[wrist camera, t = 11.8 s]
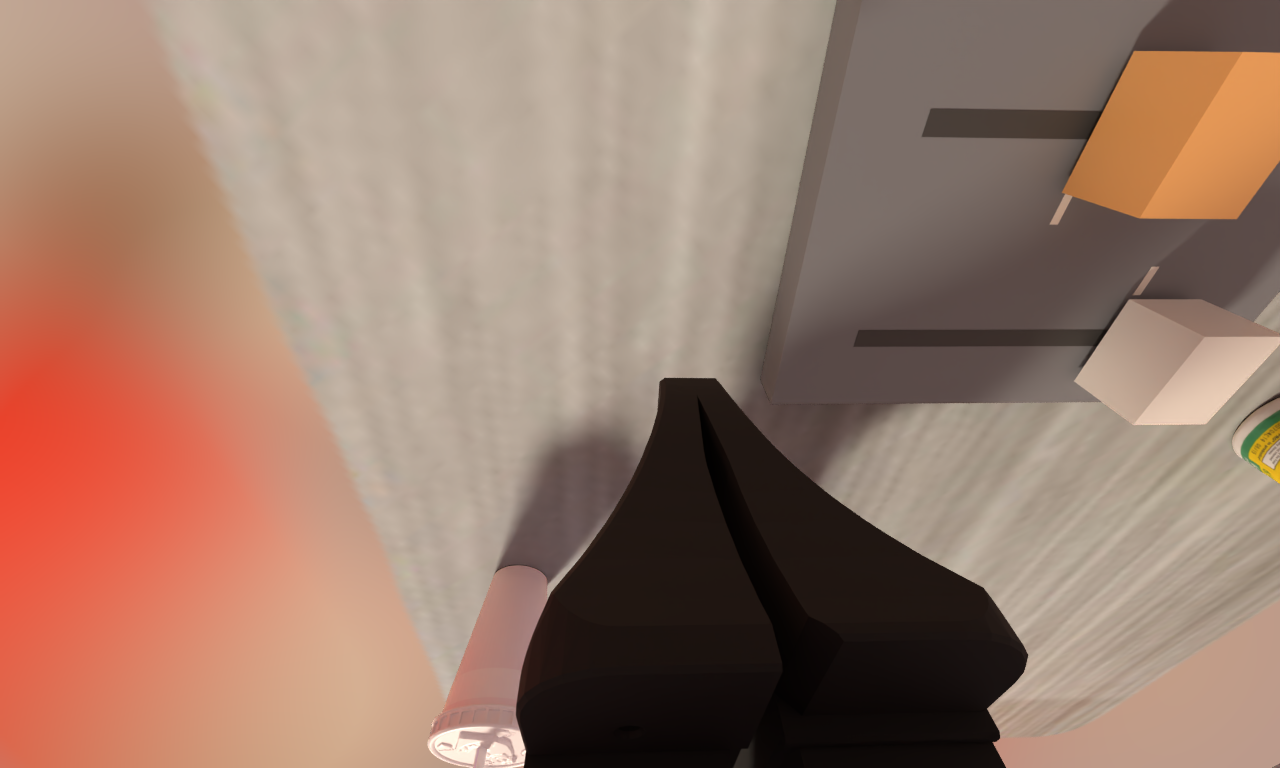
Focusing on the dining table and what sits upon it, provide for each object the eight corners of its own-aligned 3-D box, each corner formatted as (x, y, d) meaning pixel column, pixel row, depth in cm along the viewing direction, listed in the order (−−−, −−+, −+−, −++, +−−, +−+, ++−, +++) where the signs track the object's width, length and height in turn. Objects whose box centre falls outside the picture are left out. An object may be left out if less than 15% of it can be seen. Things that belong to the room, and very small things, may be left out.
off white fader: (1138, 381, 21) (1205, 424, 19) (1073, 381, 21) (1133, 425, 19) (1200, 299, 19) (1287, 336, 16) (1129, 299, 19) (1204, 336, 16)
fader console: (1146, 377, 24) (1185, 401, 23) (760, 379, 23) (770, 404, 22) (1438, 1, 16) (1535, -4, 14) (839, -15, 15) (867, -22, 13)
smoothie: (534, 542, 30) (482, 839, 19) (583, 591, 34) (565, 867, 22) (453, 570, 32) (360, 862, 20) (508, 614, 35) (455, 885, 24)
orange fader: (1145, 193, 16) (1237, 219, 14) (1061, 192, 16) (1139, 218, 14) (1230, 53, 14) (1358, 54, 12) (1134, 50, 14) (1242, 52, 12)
